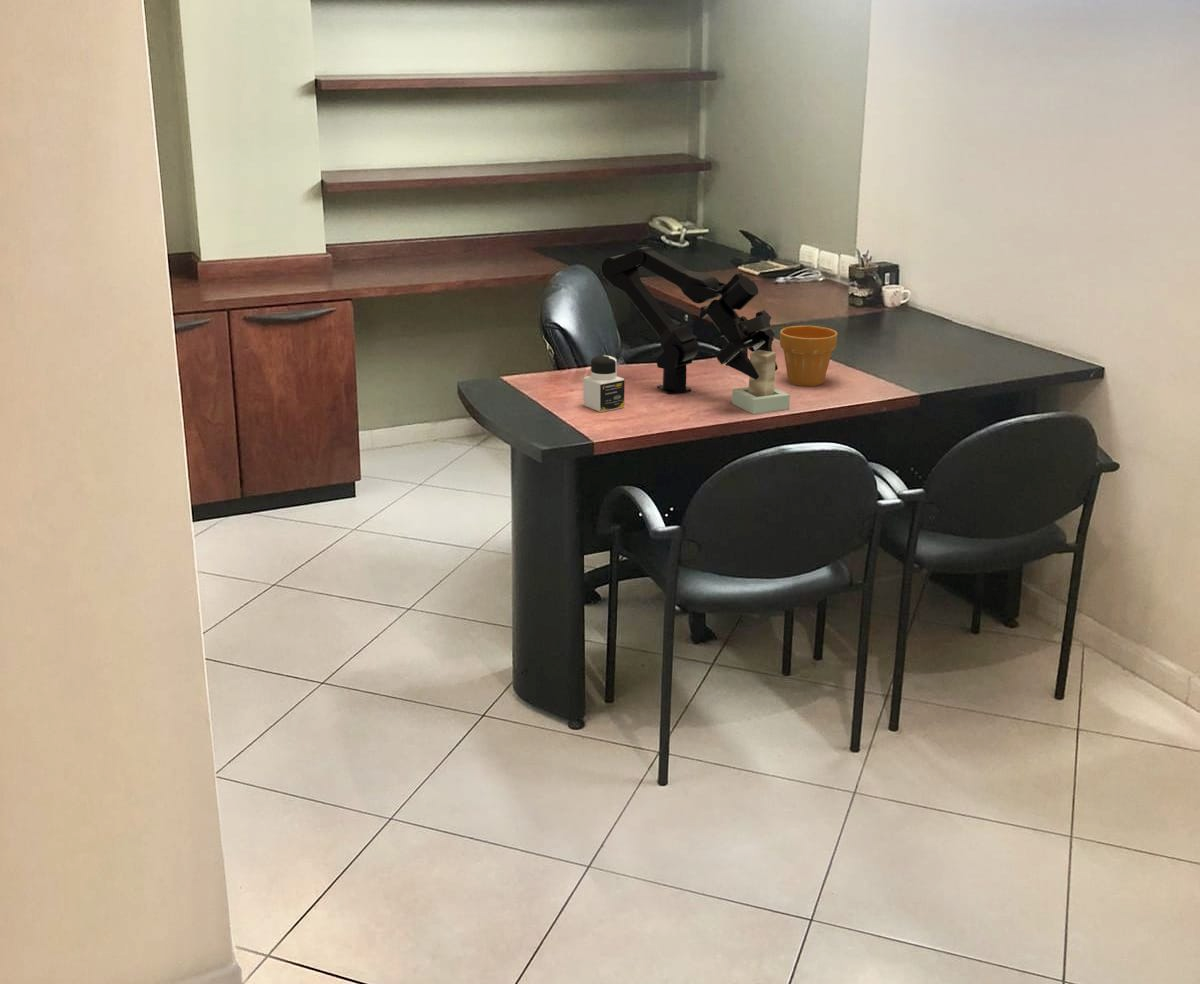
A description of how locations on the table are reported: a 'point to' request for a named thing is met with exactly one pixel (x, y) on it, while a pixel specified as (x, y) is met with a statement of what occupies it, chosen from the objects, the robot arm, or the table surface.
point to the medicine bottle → (603, 385)
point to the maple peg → (763, 373)
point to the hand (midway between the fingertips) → (767, 374)
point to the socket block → (760, 401)
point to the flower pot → (807, 353)
